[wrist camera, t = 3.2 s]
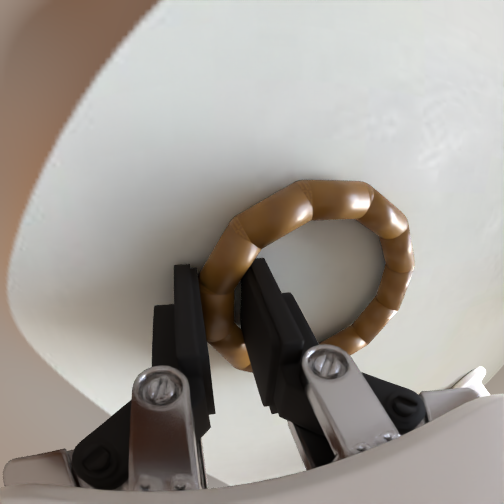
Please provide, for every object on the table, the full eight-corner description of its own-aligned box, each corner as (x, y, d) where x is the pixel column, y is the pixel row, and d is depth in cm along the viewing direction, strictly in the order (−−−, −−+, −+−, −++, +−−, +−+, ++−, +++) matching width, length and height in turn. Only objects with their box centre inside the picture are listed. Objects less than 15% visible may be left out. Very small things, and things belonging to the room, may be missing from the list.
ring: (190, 178, 8) (191, 190, 7) (420, 181, 10) (441, 191, 9) (204, 372, 12) (208, 394, 11) (372, 342, 14) (383, 358, 13)
